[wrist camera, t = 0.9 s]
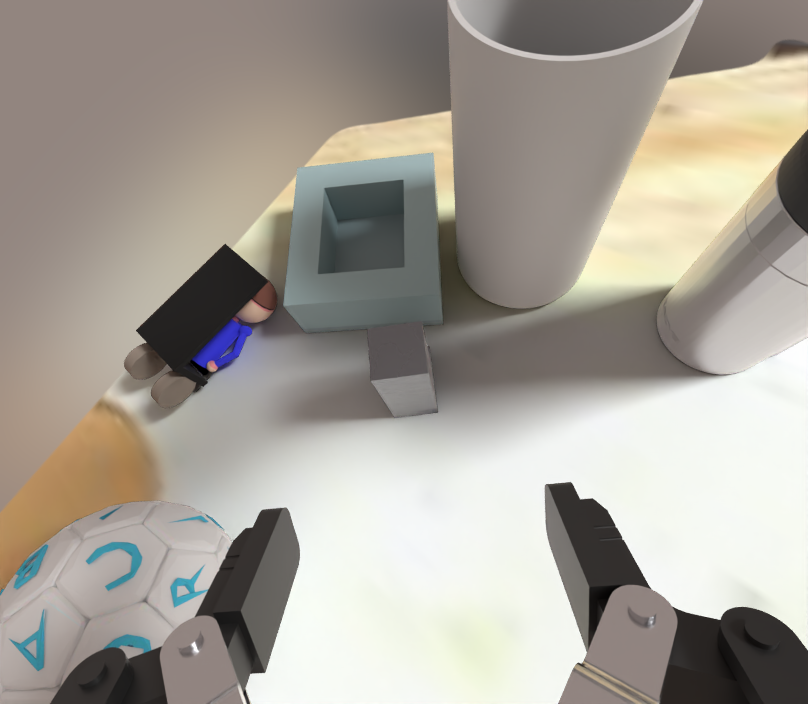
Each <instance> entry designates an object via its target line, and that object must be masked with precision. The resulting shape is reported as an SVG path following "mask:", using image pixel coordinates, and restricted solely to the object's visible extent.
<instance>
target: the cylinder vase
mask: <svg viewBox="0 0 808 704" xmlns="http://www.w3.org/2000/svg"><path fill="white" fill-rule="evenodd" d="M702 2H703V0H447V4H448V29H449V30H448V32H449V58H450V83H451V84H450V85H451V112H452V138H453V165H454V191H455V218H456V244H457V261H458V266H459V269H460V272H461V274H462V276H463V278H464V280H465V281H466V283H467V284H468V285H469V287H470V288H471V289H472V290H473V291H474V292H476V293H477V294H478V295H479V296H481V297H482V298H484V299H486V300H487V301H489V302H492V303H494V304H497V305H500V306H504V307H509V308H519V309H523V308H533V307H538V306H542V305H545V304H548V303H550V302H553V301H555V300H556V299H558V298H560V297H561V296H563V295H564V294H565V293H567V292H568V291H569V290H570V289H571V288H572V287H573V286H574V284H575V283H576V282H577V280H578V279H579V277H580V275H581V273H582V271H583V269H584V266H585V264H586V262H587V260H588V257H589V255H590V253H591V251H592V248H593V246H594V244H595V242H596V240H597V237H598V235H599V233H600V231H601V228H602V226H603V224H604V222H605V219H606V217H607V215H608V213H609V210H610V208H611V206H612V204H613V201H614V199H615V197H616V195H617V193H618V190H619V188H620V186H621V184H622V181H623V179H624V177H625V175H626V172H627V170H628V168H629V166H630V163H631V161H632V159H633V157H634V154H635V152H636V150H637V148H638V145H639V143H640V141H641V139H642V137H643V134H644V132H645V130H646V128H647V125H648V123H649V121H650V119H651V116H652V114H653V112H654V110H655V107H656V105H657V103H658V101H659V98H660V96H661V94H662V92H663V90H664V87H665V85H666V83H667V81H668V78H669V76H670V74H671V72H672V69H673V67H674V65H675V63H676V60H677V58H678V56H679V54H680V51H681V49H682V47H683V45H684V43H685V40H686V38H687V36H688V33H689V31H690V29H691V27H692V25H693V22H694V20H695V18H696V15H697V13H698V11H699V9H700V7H701V4H702Z"/></svg>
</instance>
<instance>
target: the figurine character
mask: <svg viewBox="0 0 808 704" xmlns="http://www.w3.org/2000/svg"><path fill="white" fill-rule="evenodd" d="M276 305H277V294H276V291H275V288H274V287H273V285H272V284H271V283H270V281H269V280H267V279H266V278H265V277H263V276H262V275H261V274H260V273H259V272H257V271H256V270H255V269H254V268H253V267H252V266H250V265H249V264H248V263H247V262H246V261H245V260H243V259H242V258H241V257H240V256H239V255H238V254H236V253H235V252H234V251H233V250H232V249H231V248H229V247H228V246H227V245H226V244H225V245H223V246H222V247H221V248H220V249H219V250H218V251H217V252H216V253H215V254H214V255H213V256H212V257H211V258H210V259H209V260H208V261H207V262H206V263H205V264H204V265H203V266H202V267H201V268H200V269H199V270H198V271H197V272H195V273H194V274H193V275H192V276H191V277H190V278H189V279H188V280H187V281H186V282H185V283H184V284H183V285H182V286H181V287H180V288H179V289H178V290H177V291H176V292H175V293H174V294H173V295H172V296H171V297H170V298H169V299H168V300H167V301H166V302H165V303H164V304H163V305H162V306H161V307H160V308H159V309H157V310H156V311H155V312H154V313H153V315H151V316H150V317H149V318H148V319H147V320H146V321H145V322H144V323H143V324H142V325H141V326H140V327H139V328H138V329H137V330H136V331H137V332H138V333H139V334H140V336H141V337H142V338H143V339H144V340H145V341H146V342H147V343H144V344H142V345H140V346H138V347H136V348H135V349H133V350H132V351H131V352H130V353H129V355H128V356H127V357H126V359H125V362H124V367H125V369H126V370H127V371H128V372H129V373H130V374H131V376H132V377H133V378H135V379H138V380H143V379H147V378H150V377H152V376H154V375H156V374H157V373H159V372H160V371H161V370H162V369H163V368H164V367H165V365H166V364H168V365H169V366H170V368H171V369H172V370H173V371H170V372H168V373H166V374H165V375H163V376H162V377H161V378H160V379H159V380H158V381H157V382H156V383H155V384H154V386H153V388H152V390H151V396H152V397H153V399H154V400H155V401H156V402H157V403H158V404H159V405H160V406H161V407H163V408H170V407H173V406H176V405H178V404H180V403H181V402H183V401H184V400H185V399H186V398H188V397H189V396H190V394H191V393H193V392H195V391H197V390H198V389H199V388H200V387H201V386H203V387H204V386H205V385H206V384H207V383H208V382H207V381H206V380H207V379H208V378H209V377H210V376H211V374H212V373H213V372H214V371H216V370H217V369H218V367H220V366H222V365H224V364H226V363H228V362H229V361H231V360H233V359H235V358H237V357H239V354H240V352H241V349H242V347H243V344H244V342H245V339H246V337H247V336H250V335H251V334H252V329H251V328H250V327H249V326H243V325H242V324H241V323H240V322H238V321H239V320H242V321H244V322H249V323H256V322H261V321H263V320H265V319H267V318H268V317H269V316H270V315H271V314H272V313H273V312H274V310H275V308H276ZM237 337H238V339H237V341H236V344H235V346H234V349H233V351H232V352H231V353H229V354H227V355H225V356H223V357H222V358H220V357H221V356H222V354H223V353H224V352H225V351H226V350H227V349H228V348H229V346H230V345H231V344H232V343H233V342H234V341H235V340H236V338H237ZM219 358H220V359H219ZM191 364H192V365H193V366H194V367H195V368H197V369H198V370H199V371H200V372H201V373H202V374H203V376H202V375H201V374H200V373H199V372H198V371H197V370H196V369H195V368H194V367H193V366H192V365H191Z"/></svg>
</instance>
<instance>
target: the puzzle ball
mask: <svg viewBox="0 0 808 704" xmlns="http://www.w3.org/2000/svg"><path fill="white" fill-rule="evenodd" d="M221 528H222V527H221V526H220V525H219V524H218V523H217V522H216V521H215V520H214V519H213V518H211V517H210V516H208V515H206V514H205V515H204V514H203V513H202V512H200V511H196V510H195V509H193V508H191V507H190V506H184V505H179V504H174V503H169V502H163V501H141V502H129V503H125V504H118V505H114V506H110V507H107V508H105V509H102V510H100V511H98V512H95V513H93V514H90V515H88V516H86V517H84V518H81V519H78V520H76V521H74V522H73V523H71V524H70V525H68V526H66V527H65V528H63V529H62V530H60V531H59V532H58V533H57V534H56V535H54V536H53V537H52V538H51V539H49V540H48V541H47V542H45V543H44V544H43V545H42V546H40V547H39V548H38V549H36V550H35V551H34V552H33V553H31V554H30V556H29V557H28V558H27V559H26V560H25V561H24V563H23V564H22V566H21V567H20V568H19V569H18V571H17V572H16V574H15V575H14V576H13V578H12V579H11V580H10V581H9V583H8V584H7V586H6V587H5V589H2V590H1V592H0V704H50V703H51V701H52V700H53V698H54V696H55V695H56V693H57V692H58V690H59V689H60V687H61V686H62V684H63V683H64V681H65V679H66V678H67V677H68V675H69V674H70V673H71V672H72V671H73V669H74V668H75V667H76V666H77V665H79V664H80V663H81V662H82V661H83V660H85V659H86V658H87V657H89V656H90V655H92V654H94V653H96V652H98V651H100V650H103V649H106V648H110V647H116V648H120V649H122V650H123V651H124V653H125V654H126V656H127V658H128V659H129V658H132V657H134V656H137V655H140V654H142V653H145V652H148V651H150V650H153V649H156V648H158V647H161V646H163V644H164V642H165V640H166V639H167V637H168V636H169V635H170V634H171V633H172V632H173V631H174V630H175V629H176V628H177V627H178V626H179V625H181V624H182V623H184V622H185V621H187V620H189V619H191V618H194V617H195V615H196V613H197V611H198V609H199V607H200V605H201V603H202V601H203V599H204V597H205V595H206V593H207V591H208V589H209V587H210V585H211V583H212V582H213V580H214V578H215V576H216V574H217V572H218V571H219V568H220V566H221V564H222V562H223V560H224V559H225V556H226V554H227V552H228V550H229V548H230V546H231V544H232V542H231V540H230V538H229V537H228V535H227V534H226V533H225V532H224V531H223V530H224V529H223V528H222V529H223V530H222V529H221Z"/></svg>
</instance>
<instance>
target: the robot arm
mask: <svg viewBox="0 0 808 704" xmlns="http://www.w3.org/2000/svg"><path fill="white" fill-rule="evenodd" d="M656 321H657V329H658V332H659V334H660V337H661V339H662V341H663V343H664V344H665V346H666V347H667V349H668V350H669V351H670V352H671V353H672V354H673V355H674V356H675V357H676V358H678V359H679V360H680V361H682V362H683V363H685V364H686V365H688V366H690V367H693V368H695V369H697V370H700V371H703V372H707V373H712V374H720V375H722V374H734V373H738V372H742V371H745V370H747V369H749V368H751V367H753V366H755V365H756V364H758V363H760V362H762V361H763V360H765V359H767V358H769V357H770V356H774V355H778V354H780V353H781V352H783V351H785V350H787V349H788V348H790V347H792V346H794V345H796V344H797V343H799V342H801V341H803V340H804V339H806V338H808V130H807V131H806V132H805V133H804V134H803V135H802V137H801V138H800V139H799V140H798V141H797V142H796V144H795V145H794V146H793V147H792V148H791V149H790V151H789V152H788V153H787V154H786V156H785V157H784V158H783V159H782V160H781V161H780V162H779V164H778V165H777V166H776V167H775V168H774V169H773V171H772V172H771V173H770V174H769V175H768V176H767V178H766V179H765V180H764V181H763V182H762V183H761V185H760V186H759V187H758V188H757V189H756V191H755V192H754V193H753V194H752V196H751V197H750V198H749V199H748V200H747V201H746V203H745V204H744V205H743V206H742V207H741V208H740V210H739V211H738V212H737V213H736V214H735V215H734V217H733V218H732V219H731V220H730V221H729V222H728V224H727V225H726V226H725V227H724V228H723V230H722V231H721V232H720V233H719V234H718V235H717V237H716V238H715V239H714V240H713V241H712V242H711V244H710V245H709V246H708V247H707V248H706V249H705V251H704V252H703V253H702V254H701V255H700V256H699V258H698V259H697V260H696V261H695V262H694V264H693V265H692V266H691V267H690V268H689V269H688V271H687V272H686V273H685V274H684V275H683V276H682V277H681V279H680V280H679V281H678V282H677V283H676V285H675V286H674V287H673V288H672V289H671V290H670V292H669V293H668V294H667V295H666V297H665V298H664V299H663V300H662V302H661V304H660V306H659V308H658V311H657V319H656ZM545 514H546V530H547V536H548V540H549V544H550V547H551V550H552V553H553V556H554V559H555V562H556V565H557V567H558V570H559V573H560V576H561V579H562V582H563V585H564V588H565V590H566V593H567V596H568V599H569V602H570V605H571V608H572V610H573V613H574V616H575V619H576V622H577V625H578V628H579V631H580V633H581V636H582V639H583V642H584V645H585V648H586V651H587V654H586V657H585V659H584V661H583V663H582V664H580V663H577V664H576V665H575V667H574V668H573V670H572V672H571V675H570V677H569V679H568V682H567V684H566V687H565V689H564V691H563V694H562V696H561V698H560V701H559V703H558V704H808V650H807V649H806V648H805V646H804V645H803V644H802V642H801V641H800V640H799V638H798V637H797V636H796V635H795V633H794V632H793V631H792V630H791V629H790V628H789V627H788V626H787V625H785V624H784V623H783V622H781V621H780V620H778V619H777V618H775V617H773V616H771V615H770V614H768V613H765V612H763V611H760V610H757V609H753V608H748V607H735V608H732V609H729V610H727V611H726V612H725V613H724V614H723V615H722V617H721V620H718V619H713V618H708V617H703V616H699V615H694V614H690V613H686V612H683V611H681V610H678V609H676V608H674V607H672V606H671V605H670V603H669V602H668V601H667V600H666V599H665V598H664V597H662V596H661V595H660V594H658V593H657V592H655V591H653V590H652V589H651V588H650V586H649V585H648V583H647V581H646V580H645V578H644V576H643V574H642V572H641V571H640V569H639V567H638V565H637V563H636V562H635V560H634V558H633V556H632V554H631V552H630V551H629V549H628V547H627V545H626V543H625V542H624V540H622V536H621V534H620V533H619V531H618V529H617V528H616V527H615V524H614V522H613V520H612V518H611V516H610V515H609V513H608V511H607V510H606V509H605V508H604V507H603V506H601V505H600V504H599V503H598V502H597V501H595V500H594V499H593V498H592V499H581V500H580V498H579V496H578V494H577V492H576V490H575V488H574V486H573V484H572V483H571V482H567V483H556V484H546V485H545ZM299 559H300V548H299V543H298V539H297V536H296V533H295V529H294V526H293V523H292V520H291V516H290V513H289V511H288V509H287V508H276V509H265V510H262V511H261V512H260V513H259V515H258V518H257V520H256V522H255V524H254V526H253V528H245V529H244V530H243V532H242V533H241V534H240V535H239V536H238V537H237V538H236V539H235V540H234V541H233V542H232V544H231V546H230V548H229V550H228V552H227V554H226V556H225V559H224V560H223V562H222V564H221V566H220V568H219V571H218V572H217V574H216V576H215V578H214V580H213V582H212V583H211V585H210V587H209V589H208V591H207V593H206V595H205V597H204V599H203V601H202V603H201V605H200V607H199V609H198V611H197V613H196V615H195V617H194V618H191V619H189V620H187V621H185V622H184V623H182V624H181V625H179V626H178V627H177V628H176V629H175V630H174V631H173V632H172V633H171V634H170V635H169V636H168V637H167V639H166V640H165V642H164V644H163V646H161V647H158V648H156V649H153V650H150V651H148V652H145V653H142V654H140V655H137V656H134V657H132V658H129V659H128V658H127V656H126V654H125V653H124V651H123V650H122V649H120V648H116V647H110V648H106V649H103V650H100V651H98V652H96V653H94V654H92V655H90V656H89V657H87V658H86V659H85V660H83V661H82V662H81V663H80V664H79V665H77V666H76V667H75V668H74V669H73V671H72V672H71V673H70V674H69V675H68V677H67V678H66V679H65V681H64V683H63V684H62V686H61V687H60V689H59V690H58V692H57V693H56V695H55V696H54V698H53V700H52V701H51V703H50V704H251V701H250V698H249V695H248V693H247V690H246V685H247V682H248V679H249V676H250V674H252V673H265V672H266V669H267V665H268V662H269V659H270V656H271V652H272V649H273V646H274V643H275V639H276V636H277V633H278V630H279V627H280V623H281V620H282V617H283V614H284V610H285V607H286V604H287V601H288V597H289V594H290V591H291V588H292V585H293V581H294V578H295V575H296V572H297V568H298V565H299Z"/></svg>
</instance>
